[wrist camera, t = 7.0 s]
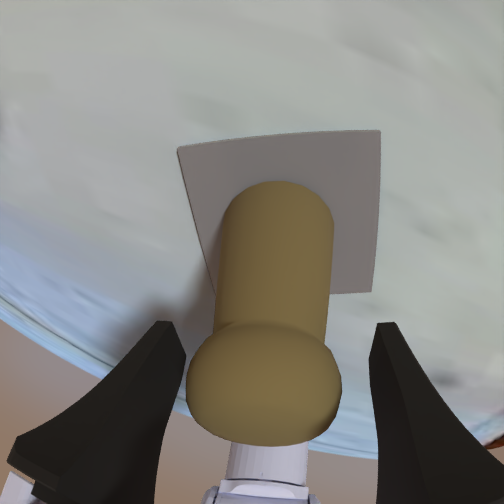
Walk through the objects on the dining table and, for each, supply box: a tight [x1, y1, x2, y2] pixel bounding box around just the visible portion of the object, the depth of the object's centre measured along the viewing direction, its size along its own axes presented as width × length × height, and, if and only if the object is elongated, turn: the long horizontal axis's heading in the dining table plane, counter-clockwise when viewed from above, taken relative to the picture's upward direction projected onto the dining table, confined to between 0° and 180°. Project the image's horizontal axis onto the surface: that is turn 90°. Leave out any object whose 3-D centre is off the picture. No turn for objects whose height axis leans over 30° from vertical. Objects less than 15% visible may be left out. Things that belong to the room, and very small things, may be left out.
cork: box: [186, 181, 342, 447], centre depth 13 cm, size 6×6×11 cm
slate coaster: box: [177, 130, 381, 295], centre depth 18 cm, size 10×10×1 cm
